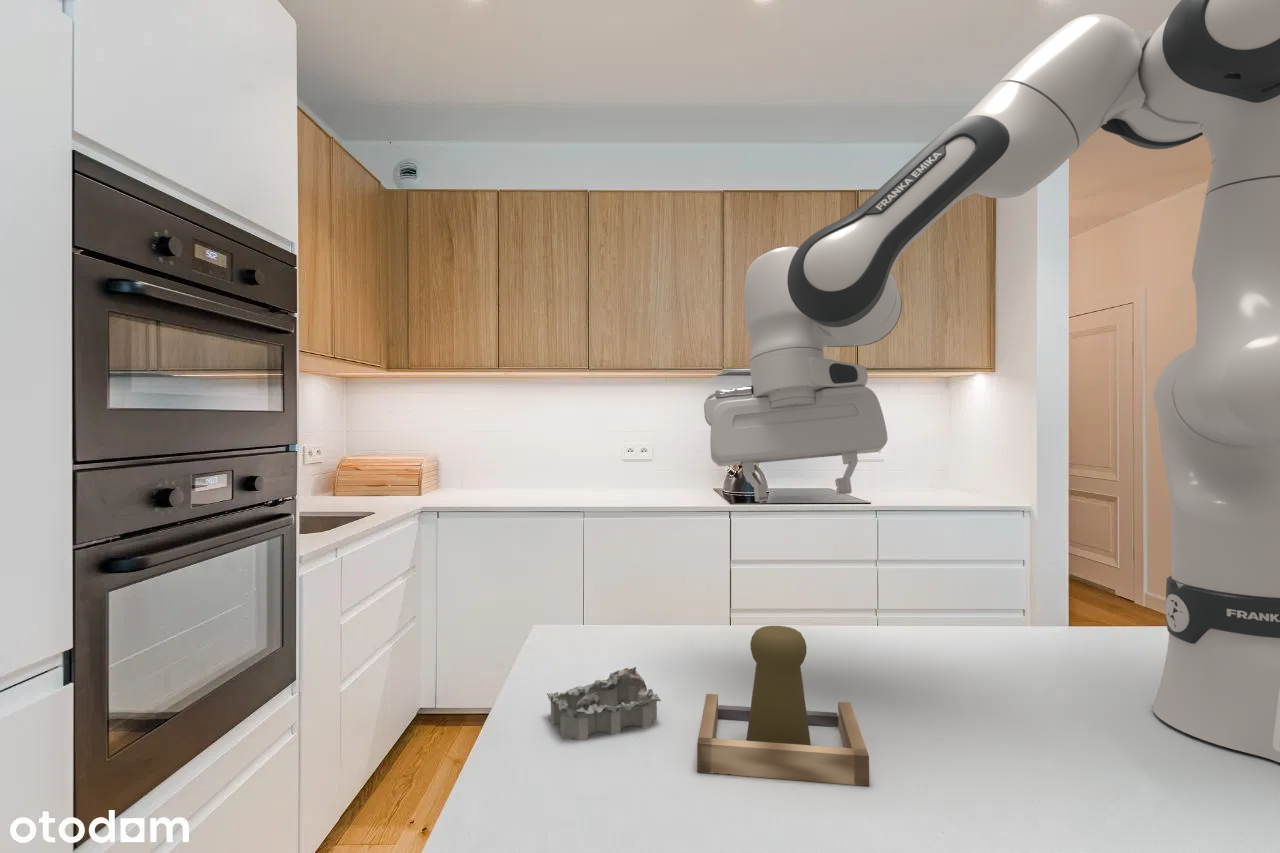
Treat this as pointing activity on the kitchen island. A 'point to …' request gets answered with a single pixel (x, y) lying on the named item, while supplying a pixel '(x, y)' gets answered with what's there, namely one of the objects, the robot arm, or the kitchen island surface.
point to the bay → (784, 749)
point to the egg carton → (604, 706)
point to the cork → (778, 687)
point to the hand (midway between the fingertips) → (802, 497)
